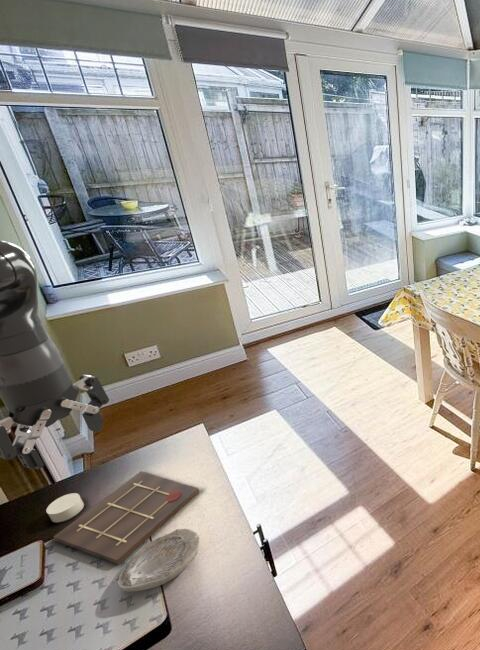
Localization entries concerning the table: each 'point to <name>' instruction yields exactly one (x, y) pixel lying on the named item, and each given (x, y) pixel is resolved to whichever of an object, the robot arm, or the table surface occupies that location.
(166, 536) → the fossil
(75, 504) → the stone
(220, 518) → the table surface
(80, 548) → the board
